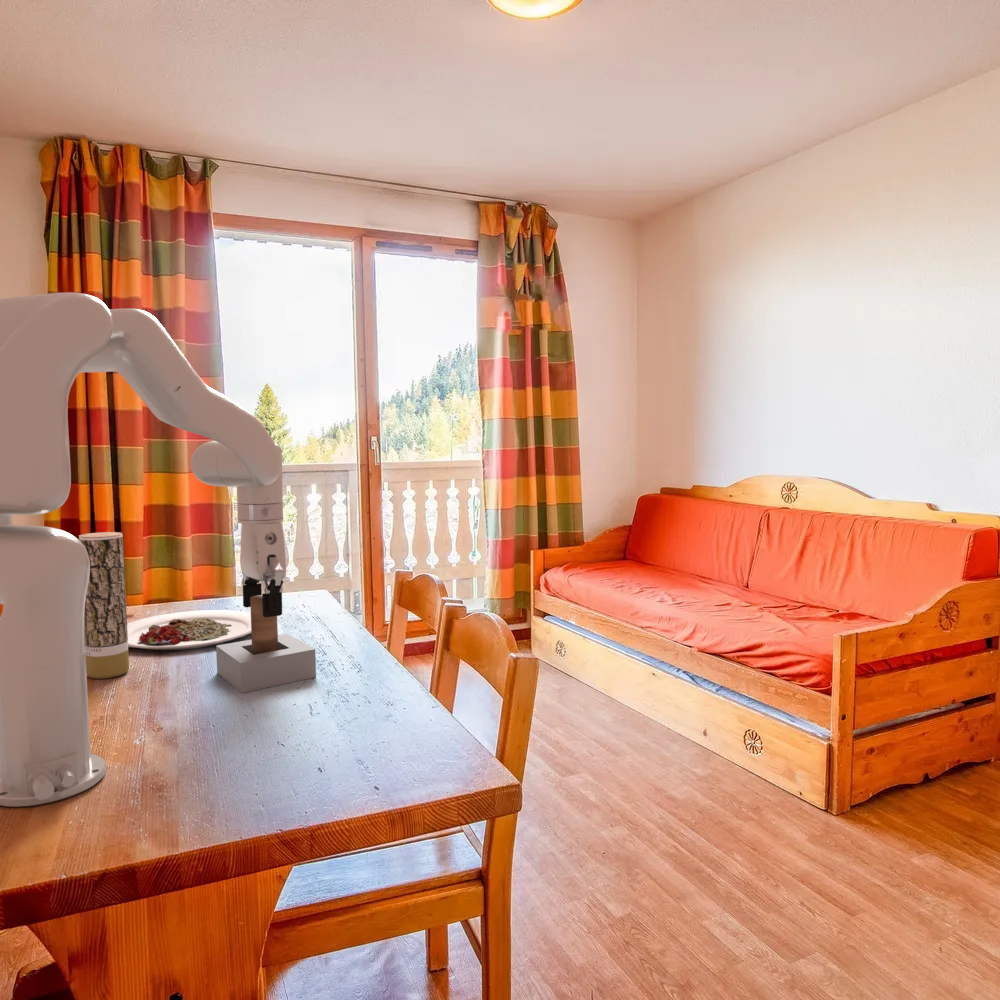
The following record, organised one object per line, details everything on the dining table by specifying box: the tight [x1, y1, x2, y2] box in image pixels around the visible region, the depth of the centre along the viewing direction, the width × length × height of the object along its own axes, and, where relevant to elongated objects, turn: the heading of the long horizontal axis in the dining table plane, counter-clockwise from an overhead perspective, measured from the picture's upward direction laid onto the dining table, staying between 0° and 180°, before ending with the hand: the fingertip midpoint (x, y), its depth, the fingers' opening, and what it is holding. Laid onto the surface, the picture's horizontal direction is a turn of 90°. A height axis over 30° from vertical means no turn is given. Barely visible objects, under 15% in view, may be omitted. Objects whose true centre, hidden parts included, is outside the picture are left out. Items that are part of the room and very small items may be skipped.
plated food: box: [127, 609, 251, 651], centre depth 160 cm, size 30×30×3 cm
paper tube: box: [78, 531, 130, 680], centre depth 133 cm, size 7×7×25 cm
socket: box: [215, 633, 317, 694], centre depth 133 cm, size 13×13×5 cm
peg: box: [250, 595, 279, 655], centre depth 132 cm, size 4×4×14 cm
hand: (262, 611), depth 131 cm, fingers open, 9 cm apart
